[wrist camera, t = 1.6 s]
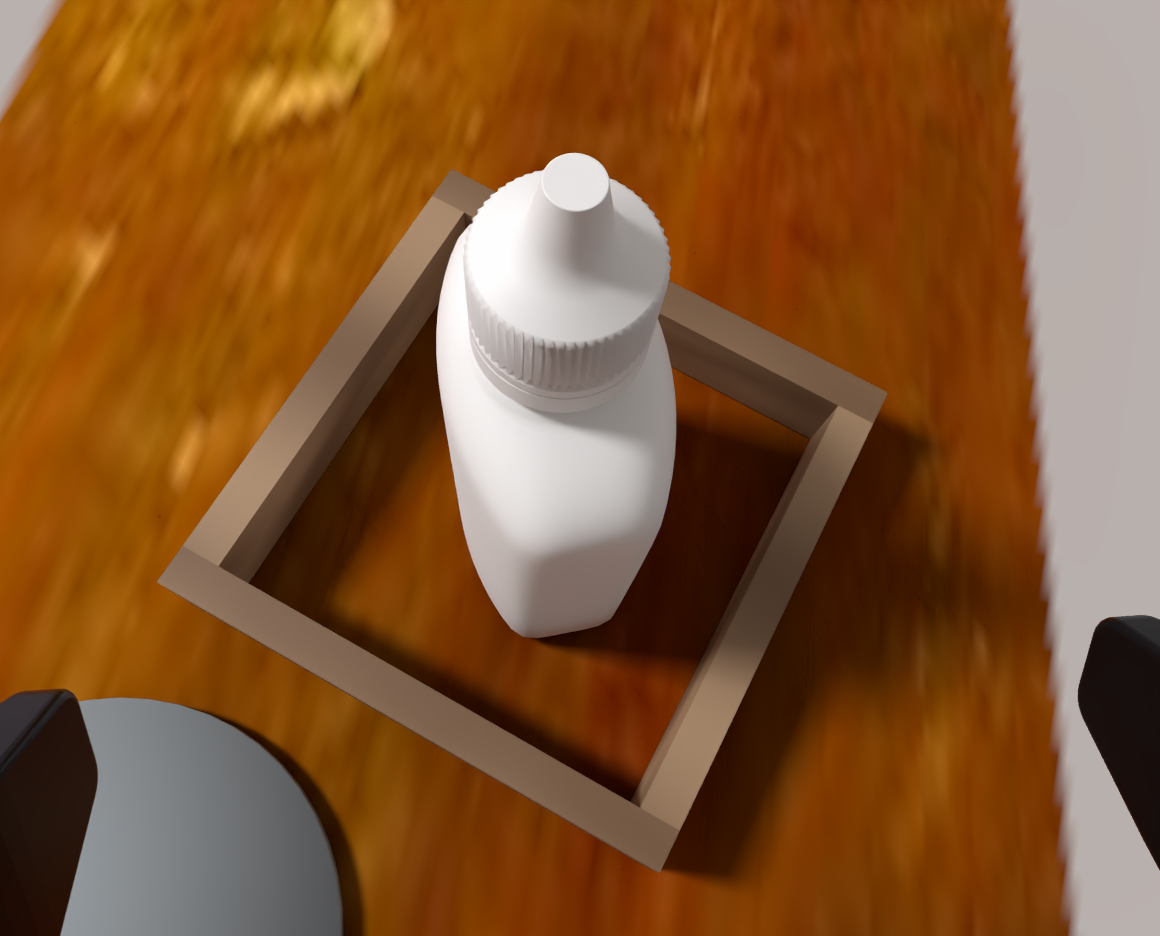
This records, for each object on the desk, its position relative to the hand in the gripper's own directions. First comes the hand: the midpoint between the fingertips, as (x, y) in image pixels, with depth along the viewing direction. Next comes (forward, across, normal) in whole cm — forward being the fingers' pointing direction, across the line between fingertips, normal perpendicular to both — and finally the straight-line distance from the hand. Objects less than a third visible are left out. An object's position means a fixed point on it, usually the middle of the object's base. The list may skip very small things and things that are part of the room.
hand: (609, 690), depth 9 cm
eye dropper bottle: (+12, 0, +5) cm, 13 cm away
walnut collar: (+12, 0, +5) cm, 13 cm away
